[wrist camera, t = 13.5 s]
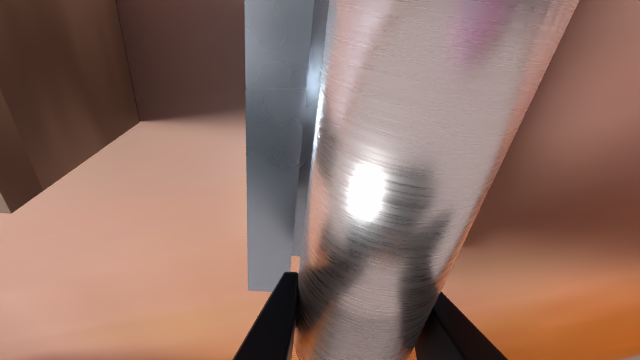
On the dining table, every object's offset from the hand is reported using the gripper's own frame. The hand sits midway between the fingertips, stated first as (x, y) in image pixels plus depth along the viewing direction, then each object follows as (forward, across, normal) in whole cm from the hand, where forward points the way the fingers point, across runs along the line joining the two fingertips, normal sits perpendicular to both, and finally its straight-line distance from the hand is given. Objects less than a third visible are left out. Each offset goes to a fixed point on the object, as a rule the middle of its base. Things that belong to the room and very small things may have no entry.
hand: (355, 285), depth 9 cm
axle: (+1, 0, -3) cm, 3 cm away
